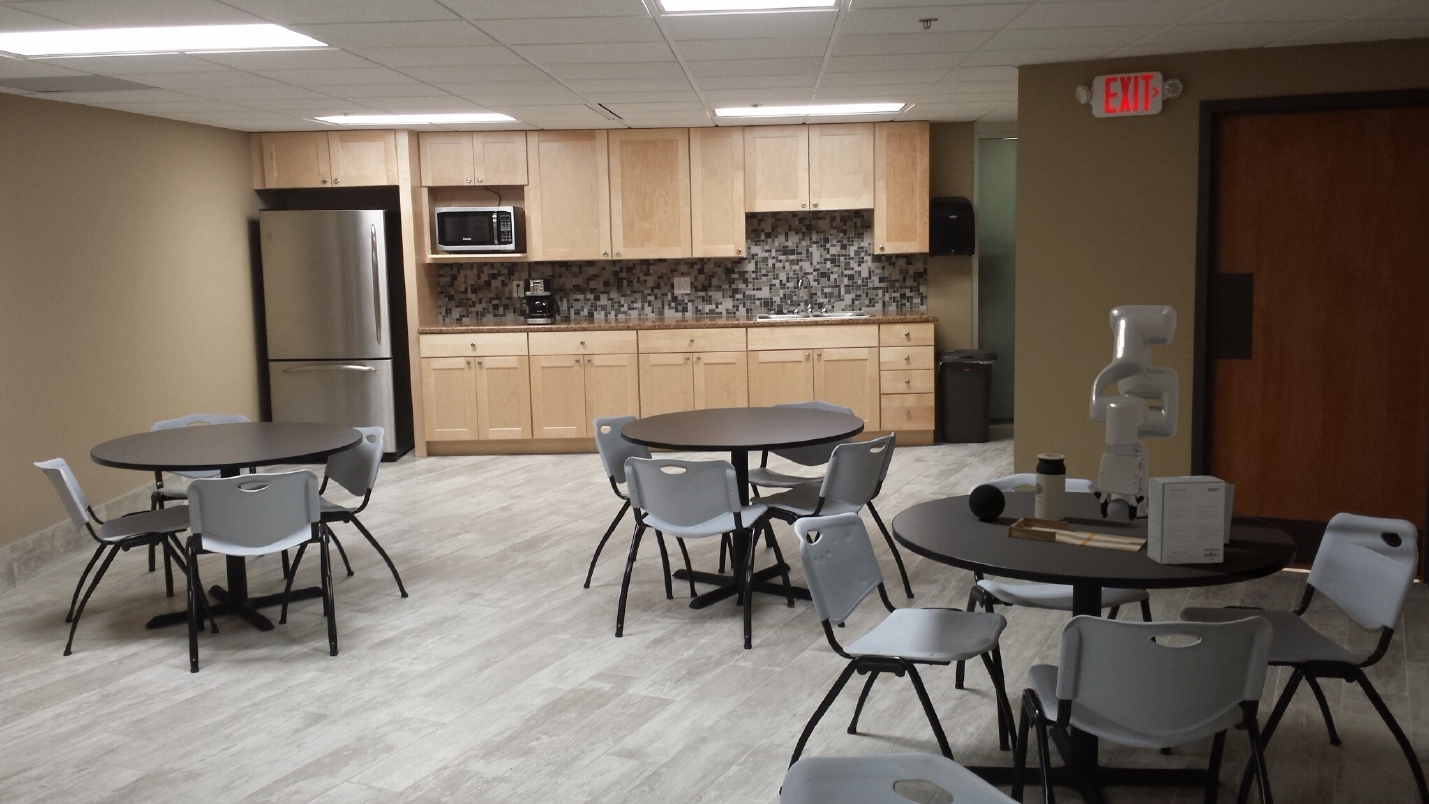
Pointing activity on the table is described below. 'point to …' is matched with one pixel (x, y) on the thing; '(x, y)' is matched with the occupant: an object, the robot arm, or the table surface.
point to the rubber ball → (1118, 510)
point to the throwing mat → (1070, 535)
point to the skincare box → (1228, 510)
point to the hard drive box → (1186, 519)
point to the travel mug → (1050, 487)
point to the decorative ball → (987, 502)
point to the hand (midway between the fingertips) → (1118, 517)
